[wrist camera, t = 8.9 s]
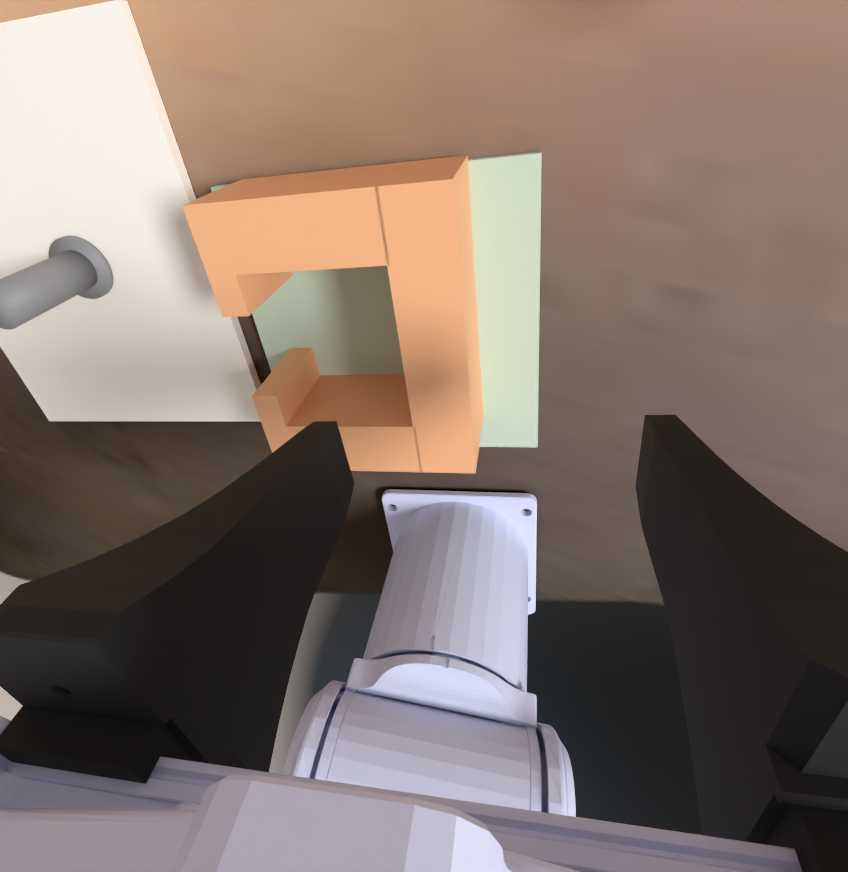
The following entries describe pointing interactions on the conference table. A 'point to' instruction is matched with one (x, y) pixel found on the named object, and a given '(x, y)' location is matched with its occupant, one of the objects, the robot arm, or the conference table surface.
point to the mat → (495, 290)
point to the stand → (104, 235)
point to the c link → (411, 293)
